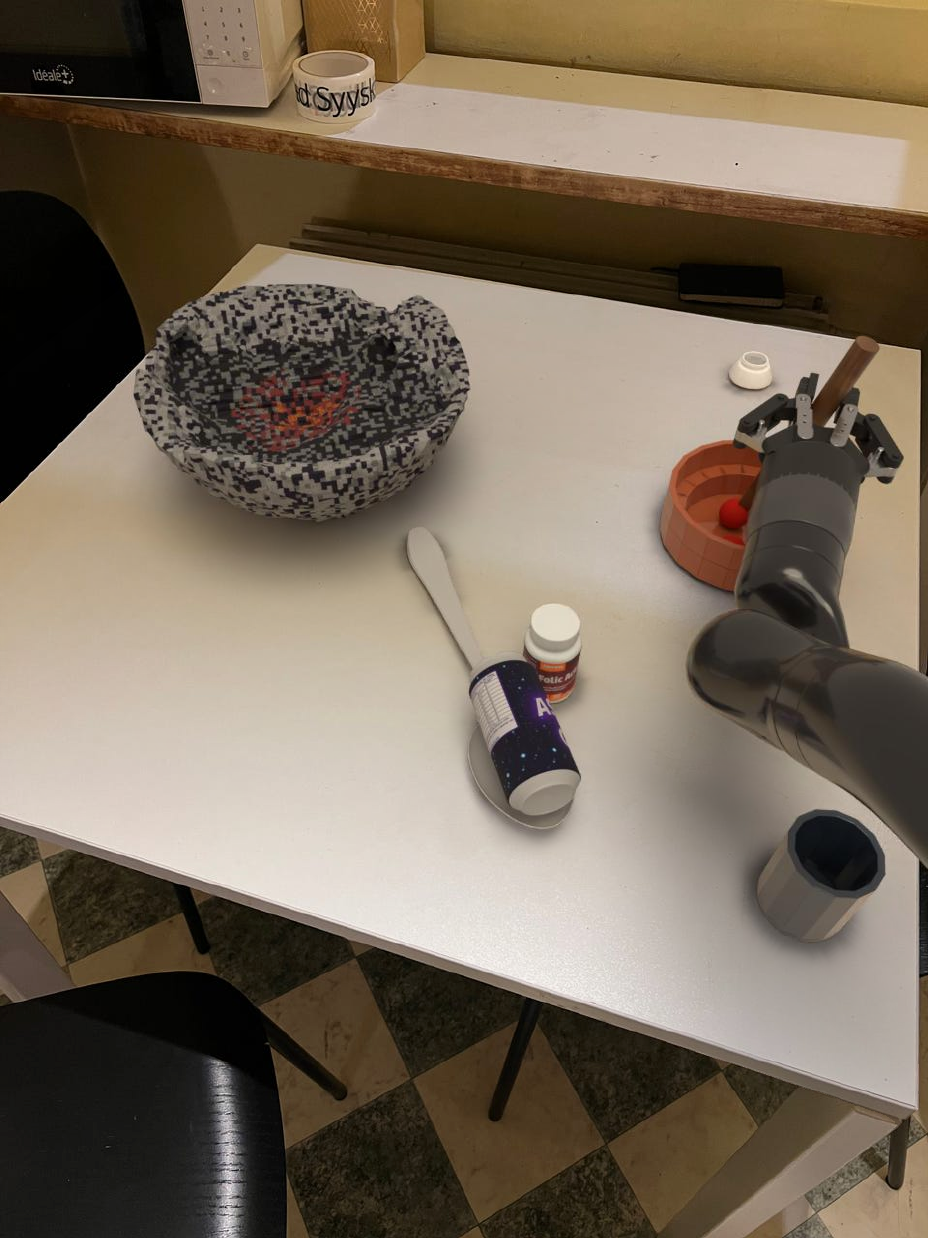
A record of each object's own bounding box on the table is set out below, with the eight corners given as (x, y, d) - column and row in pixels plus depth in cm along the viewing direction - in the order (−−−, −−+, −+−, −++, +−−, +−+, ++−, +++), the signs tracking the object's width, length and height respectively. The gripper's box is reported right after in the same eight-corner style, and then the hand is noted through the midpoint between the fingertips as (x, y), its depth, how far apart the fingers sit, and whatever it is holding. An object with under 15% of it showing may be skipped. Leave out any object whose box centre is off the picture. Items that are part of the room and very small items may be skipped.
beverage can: (573, 768, 59) (518, 638, 67) (499, 803, 60) (453, 670, 68) (594, 797, 64) (540, 672, 71) (525, 829, 64) (479, 702, 72)
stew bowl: (824, 500, 91) (843, 455, 86) (822, 613, 81) (843, 569, 76) (669, 472, 93) (680, 427, 89) (648, 578, 83) (659, 533, 79)
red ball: (729, 511, 89) (740, 489, 87) (749, 529, 87) (761, 507, 85) (708, 518, 88) (719, 496, 85) (728, 537, 86) (739, 515, 84)
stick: (768, 510, 85) (887, 345, 69) (763, 522, 84) (883, 358, 68) (741, 496, 86) (853, 329, 70) (735, 508, 85) (848, 341, 69)
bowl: (173, 608, 81) (125, 486, 69) (175, 409, 101) (138, 289, 89) (497, 559, 85) (503, 436, 74) (438, 377, 105) (435, 258, 93)
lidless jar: (753, 397, 102) (778, 381, 104) (759, 375, 100) (785, 359, 102) (719, 378, 105) (745, 362, 107) (725, 356, 102) (751, 341, 105)
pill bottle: (536, 713, 73) (543, 652, 67) (511, 672, 76) (515, 610, 70) (584, 693, 75) (596, 632, 68) (558, 654, 77) (566, 592, 71)
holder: (844, 871, 64) (884, 821, 58) (844, 954, 60) (887, 910, 54) (759, 849, 65) (789, 798, 59) (753, 930, 61) (785, 884, 55)
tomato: (753, 562, 82) (723, 576, 83) (748, 551, 84) (719, 564, 85) (740, 536, 81) (710, 550, 82) (736, 525, 83) (707, 539, 84)
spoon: (597, 827, 66) (601, 810, 64) (500, 858, 65) (502, 840, 63) (454, 538, 89) (453, 518, 87) (379, 554, 87) (377, 534, 85)
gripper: (917, 502, 62) (929, 365, 71) (722, 455, 65) (760, 331, 75) (877, 572, 67) (894, 436, 77) (701, 526, 71) (739, 401, 81)
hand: (828, 385), depth 76 cm, fingers closed on stick, 2 cm apart
